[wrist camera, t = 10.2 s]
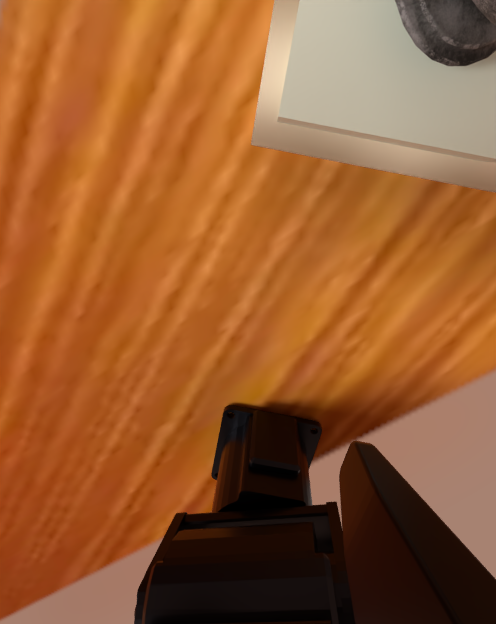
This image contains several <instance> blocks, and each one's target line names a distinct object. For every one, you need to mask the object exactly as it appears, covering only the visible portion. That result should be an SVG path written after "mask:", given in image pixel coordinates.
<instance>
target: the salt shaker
mask: <svg viewBox="0 0 496 624" xmlns="http://www.w3.org/2000/svg"><path fill="white" fill-rule="evenodd" d="M395 2H396V5H397V8H398V11H399V14H400V17H401V20H402V23H403V26H404V27H405V29H406V31H407V32H408V34H409V35H410V37H411V39H412V40H413V42H414V44H415V45H416V46H417V47H418V48H419V49H420V50H421V51H422V52H423V53H424V54H426V55H427V56H428V57H429V58H430V59H431V60H433V61H436V62H438V63H441V64H444V65H446V66H468V65H471V64H473V63H476V62H478V61H481V60H483V59H486V58H488V57H489V56H490V55H492V54H493V53H494V52H495V51H496V0H395Z"/></svg>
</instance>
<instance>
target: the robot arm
mask: <svg viewBox="0 0 496 624" xmlns="http://www.w3.org/2000/svg"><path fill="white" fill-rule="evenodd" d="M229 412H232V413H234V414H229ZM312 428H316V429H315V430H312ZM321 433H322V428H321V425H320V423H319V422H317V421H313V420H307V419H302V418H297V417H291V416H286V415H281V414H276V413H270V412H265V411H260V410H254V409H249V408H244V407H238V406H233V405H229V406H227V407H225V409H224V412H223V417H222V422H221V428H220V433H219V438H218V443H217V448H216V453H215V458H214V464H213V469H212V478H213V479H215V480H217V484H216V490H215V496H214V502H213V507H212V513H198V514H187V513H186V512H185V513H176V515H175V517H174V519H173V521H172V522H171V524H170V526H169V528H168V530H167V532H166V534H165V536H164V538H163V540H162V542H161V544H160V546H159V548H158V550H157V552H156V554H155V556H154V558H153V560H152V562H151V564H150V565H149V567H148V569H147V571H146V574H145V576H144V578H143V580H142V582H141V584H140V586H139V589H138V592H137V605H136V608H135V621H134V624H496V579H495V578H494V577H493V576H492V575H491V574H490V572H489V571H487V569H486V568H485V567H484V566H483V565H482V564H481V563H480V561H479V560H478V559H477V558H476V557H475V556H474V555H473V554H472V553H471V552H470V551H469V549H468V548H467V547H466V546H465V545H464V544H463V543H462V542H461V541H460V539H459V538H458V537H457V536H456V535H455V534H454V533H453V532H452V531H451V530H450V528H449V527H448V526H447V525H446V524H445V523H444V522H443V521H442V520H441V519H440V517H439V516H438V515H437V514H436V513H435V512H434V511H433V510H432V509H431V508H430V507H429V505H428V504H427V503H426V502H425V501H424V500H423V499H422V498H421V497H420V496H419V494H418V493H417V492H416V491H415V490H414V489H413V488H412V487H411V486H410V485H409V484H408V482H407V481H406V480H405V479H404V478H403V477H402V476H401V475H400V474H399V473H398V471H396V469H395V468H394V467H393V466H392V465H391V464H390V463H389V461H388V460H386V458H385V457H384V456H383V455H382V454H381V453H380V452H379V451H378V449H377V448H376V447H375V446H373V445H372V444H370V443H365V442H360V441H353V442H352V443H351V444H350V446H349V449H348V451H347V454H346V456H345V459H344V461H343V464H342V466H341V470H340V476H339V478H340V479H339V481H340V495H341V496H340V497H341V513H342V526H341V522H340V517H339V512H338V507H337V502H327V503H326V504H325V505H312V499H311V489H310V480H309V471H308V470H309V467H310V464H311V461H312V459H313V456H314V453H315V450H316V447H317V444H318V441H319V439H320V436H321ZM342 530H343V531H342Z"/></svg>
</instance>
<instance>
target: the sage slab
mask: <svg viewBox="0 0 496 624" xmlns="http://www.w3.org/2000/svg"><path fill="white" fill-rule="evenodd" d="M277 122H280V123H286V124H291V125H296V126H301V127H306V128H311V129H317V130H322V131H327V132H332V133H337V134H342V135H347V136H353V137H358V138H363V139H368V140H373V141H378V142H384V143H389V144H394V145H399V146H404V147H409V148H415V149H420V150H425V151H430V152H435V153H440V154H446V155H451V156H456V157H461V158H466V159H471V160H477V161H482V162H496V51H495V52H494V53H493V54H492V55H490V56H489V57H488V58H486V59H483V60H481V61H478V62H476V63H473V64H471V65H468V66H446V65H444V64H441V63H438V62H436V61H433V60H431V59H430V58H429V57H428V56H427V55H426V54H424V53H423V52H422V51H421V50H420V49H419V48H418V47H417V46H416V45H415V44H414V42H413V40H412V39H411V37H410V35H409V34H408V32H407V31H406V29H405V27H404V26H403V23H402V20H401V17H400V14H399V11H398V8H397V5H396V2H395V0H300V1H299V6H298V12H297V17H296V23H295V28H294V33H293V39H292V44H291V50H290V55H289V61H288V66H287V71H286V77H285V82H284V88H283V93H282V98H281V104H280V109H279V115H278V120H277Z"/></svg>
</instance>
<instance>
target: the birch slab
mask: <svg viewBox="0 0 496 624" xmlns="http://www.w3.org/2000/svg"><path fill="white" fill-rule="evenodd" d="M299 1H300V0H275V1H274V7H273V13H272V19H271V25H270V31H269V37H268V44H267V50H266V56H265V62H264V68H263V74H262V80H261V86H260V92H259V98H258V104H257V111H256V117H255V123H254V129H253V135H252V141H251V145H254V146H259V147H264V148H269V149H275V150H280V151H285V152H290V153H295V154H300V155H305V156H310V157H315V158H321V159H326V160H331V161H336V162H341V163H346V164H351V165H356V166H361V167H367V168H372V169H377V170H382V171H387V172H392V173H397V174H402V175H407V176H413V177H418V178H423V179H428V180H433V181H438V182H443V183H448V184H453V185H459V186H464V187H469V188H474V189H479V190H485V191H490V192H496V162H482V161H477V160H471V159H466V158H461V157H456V156H451V155H446V154H440V153H435V152H430V151H425V150H420V149H415V148H409V147H404V146H399V145H394V144H389V143H384V142H378V141H373V140H368V139H363V138H358V137H353V136H347V135H342V134H337V133H332V132H327V131H322V130H317V129H311V128H306V127H301V126H296V125H291V124H286V123H280V122H277V120H278V115H279V109H280V104H281V98H282V93H283V88H284V82H285V77H286V71H287V66H288V61H289V55H290V50H291V44H292V39H293V33H294V28H295V23H296V17H297V12H298V6H299Z"/></svg>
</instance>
